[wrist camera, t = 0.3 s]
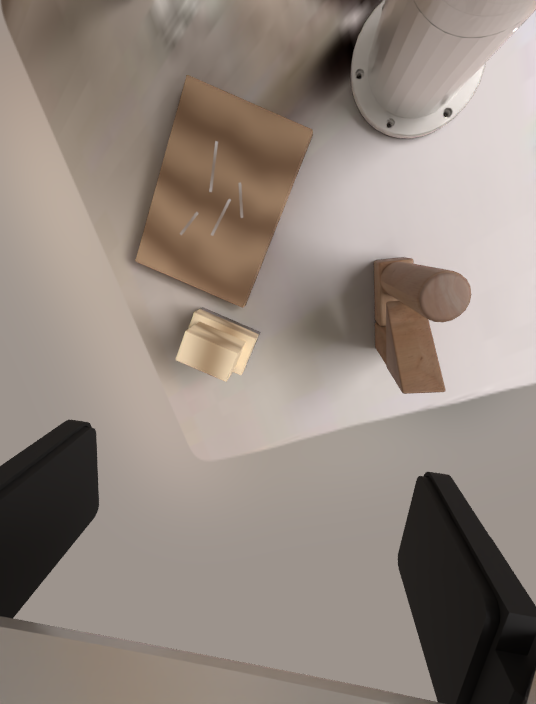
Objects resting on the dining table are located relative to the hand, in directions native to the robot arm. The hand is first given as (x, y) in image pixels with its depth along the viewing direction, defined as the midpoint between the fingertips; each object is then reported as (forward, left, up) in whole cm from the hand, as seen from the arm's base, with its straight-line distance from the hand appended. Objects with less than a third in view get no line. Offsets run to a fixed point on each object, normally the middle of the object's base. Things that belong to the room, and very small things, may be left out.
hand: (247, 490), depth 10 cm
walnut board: (-7, -13, -35) cm, 38 cm away
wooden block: (-4, +10, -35) cm, 37 cm away
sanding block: (+8, -7, -35) cm, 37 cm away
